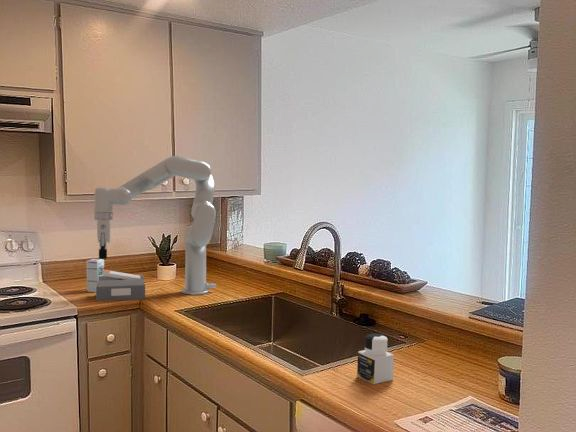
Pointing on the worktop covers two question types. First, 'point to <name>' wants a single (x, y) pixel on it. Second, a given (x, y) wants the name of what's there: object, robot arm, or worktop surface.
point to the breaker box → (119, 289)
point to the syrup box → (94, 273)
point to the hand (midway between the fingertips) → (102, 258)
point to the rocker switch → (120, 275)
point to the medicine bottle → (375, 360)
